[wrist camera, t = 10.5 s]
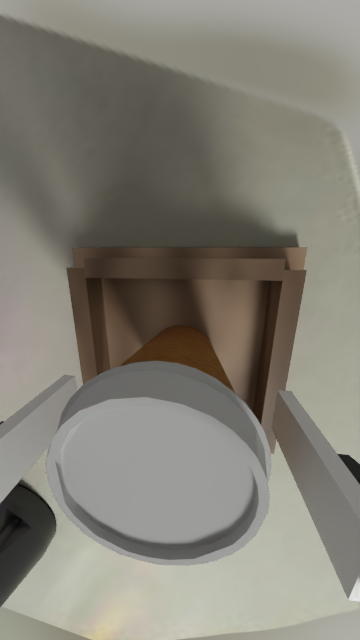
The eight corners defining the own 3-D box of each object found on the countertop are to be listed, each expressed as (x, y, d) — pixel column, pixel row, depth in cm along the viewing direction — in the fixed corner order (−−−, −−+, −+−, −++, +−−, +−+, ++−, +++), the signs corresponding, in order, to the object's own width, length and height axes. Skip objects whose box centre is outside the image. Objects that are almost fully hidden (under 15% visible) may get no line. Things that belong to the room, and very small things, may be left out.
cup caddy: (101, 420, 24) (83, 447, 20) (80, 248, 18) (51, 244, 15) (268, 436, 22) (282, 469, 18) (299, 249, 16) (327, 243, 13)
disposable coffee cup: (161, 288, 17) (83, 330, 6) (251, 340, 18) (347, 477, 6) (119, 368, 20) (8, 506, 8) (198, 411, 20) (195, 600, 9)
